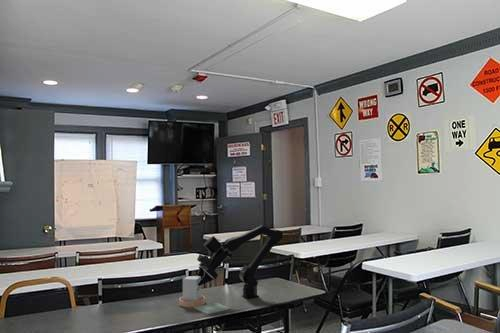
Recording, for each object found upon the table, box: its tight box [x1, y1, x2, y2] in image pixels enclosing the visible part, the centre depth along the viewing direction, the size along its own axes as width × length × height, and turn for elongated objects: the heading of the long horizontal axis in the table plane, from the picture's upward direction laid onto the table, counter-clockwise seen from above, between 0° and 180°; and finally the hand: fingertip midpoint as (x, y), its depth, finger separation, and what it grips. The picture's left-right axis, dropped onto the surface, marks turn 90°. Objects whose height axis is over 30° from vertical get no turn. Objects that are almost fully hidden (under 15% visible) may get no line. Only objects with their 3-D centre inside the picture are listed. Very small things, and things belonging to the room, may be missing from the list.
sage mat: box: [194, 302, 231, 315], centre depth 191 cm, size 12×12×1 cm
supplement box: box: [182, 275, 202, 301], centre depth 201 cm, size 7×7×13 cm
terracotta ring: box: [178, 294, 206, 308], centre depth 201 cm, size 13×13×2 cm
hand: (196, 283), depth 202 cm, fingers open, 9 cm apart
